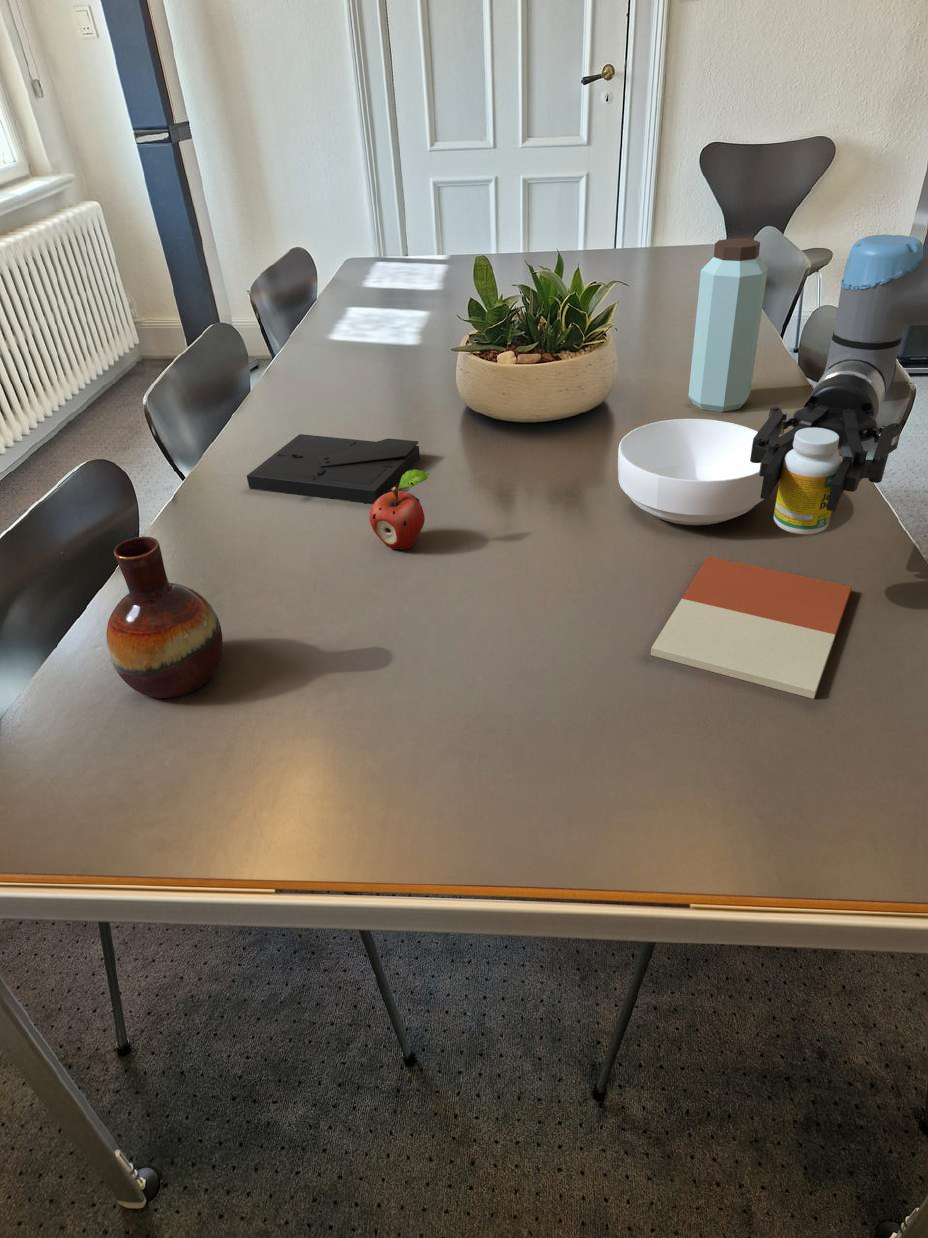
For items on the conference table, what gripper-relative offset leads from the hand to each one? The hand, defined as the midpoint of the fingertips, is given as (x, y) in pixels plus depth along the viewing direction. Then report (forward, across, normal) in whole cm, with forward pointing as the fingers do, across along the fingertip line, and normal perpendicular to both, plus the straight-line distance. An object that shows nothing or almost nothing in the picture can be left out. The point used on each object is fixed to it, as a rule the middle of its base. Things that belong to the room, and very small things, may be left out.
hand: (799, 491), depth 80 cm
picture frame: (-14, +67, -17) cm, 70 cm away
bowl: (-24, +16, -17) cm, 33 cm away
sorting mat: (-1, +2, -16) cm, 16 cm away
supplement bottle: (-5, 0, -6) cm, 8 cm away
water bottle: (-62, +23, -17) cm, 68 cm away
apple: (0, +46, -17) cm, 49 cm away
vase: (+33, +53, -16) cm, 65 cm away
